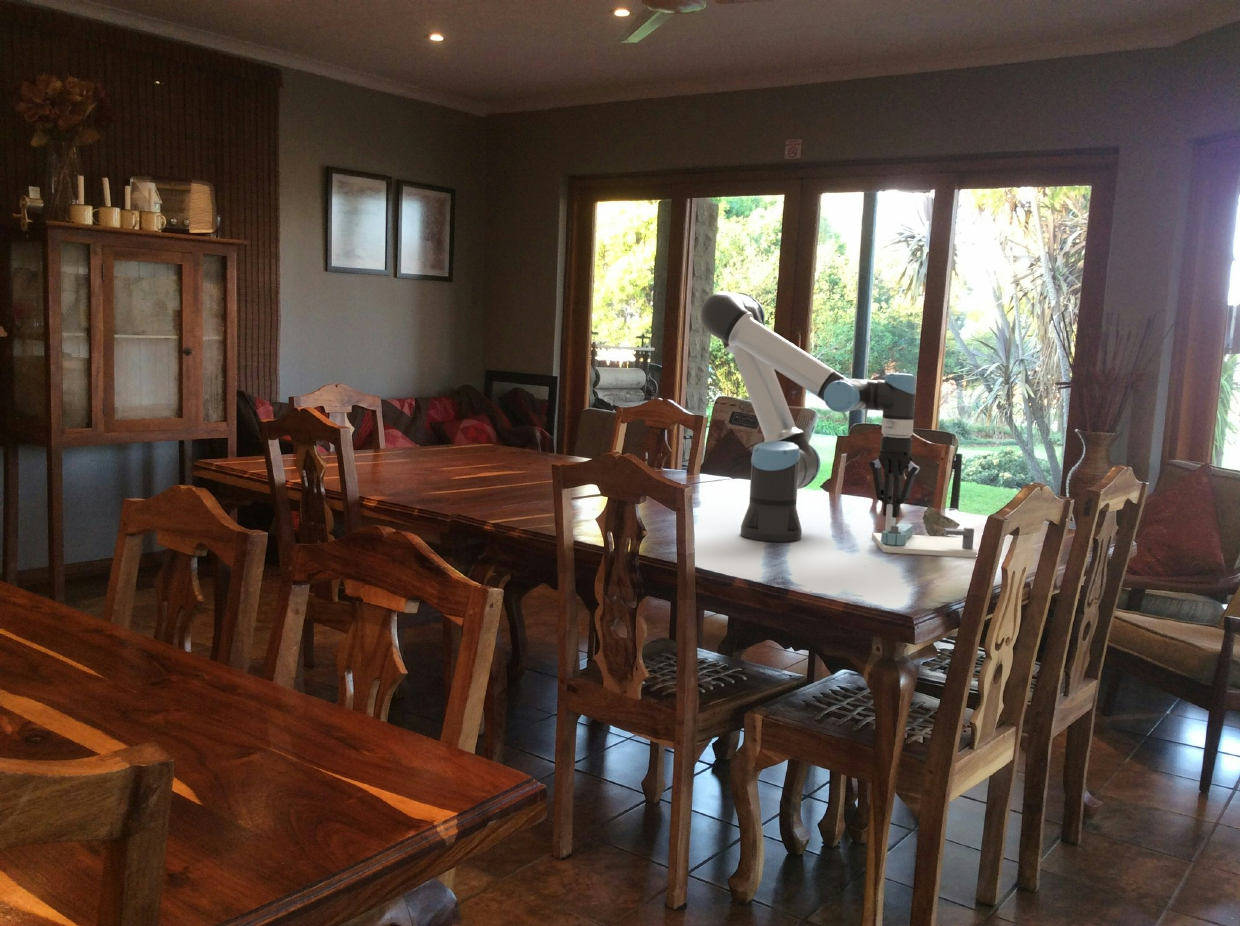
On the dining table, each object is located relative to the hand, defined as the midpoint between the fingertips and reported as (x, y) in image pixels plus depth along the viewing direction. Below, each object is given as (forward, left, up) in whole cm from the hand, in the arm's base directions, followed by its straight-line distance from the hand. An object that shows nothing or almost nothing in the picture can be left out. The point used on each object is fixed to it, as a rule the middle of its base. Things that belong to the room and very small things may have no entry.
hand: (890, 529), depth 267 cm
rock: (+15, +11, -3) cm, 19 cm away
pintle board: (+7, -4, -3) cm, 9 cm away
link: (+2, -3, -2) cm, 4 cm away
